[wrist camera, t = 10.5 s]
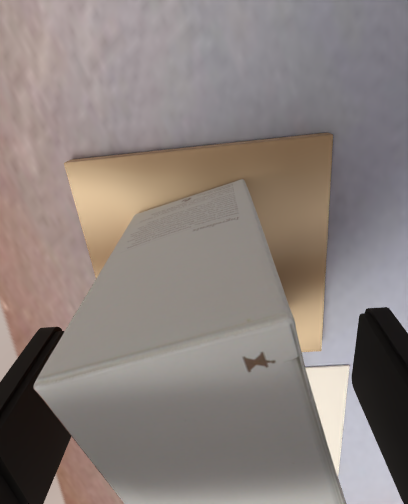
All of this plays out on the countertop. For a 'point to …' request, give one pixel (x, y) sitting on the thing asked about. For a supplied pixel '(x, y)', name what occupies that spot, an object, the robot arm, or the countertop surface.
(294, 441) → the small box
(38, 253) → the countertop surface
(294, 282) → the coaster
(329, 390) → the card
